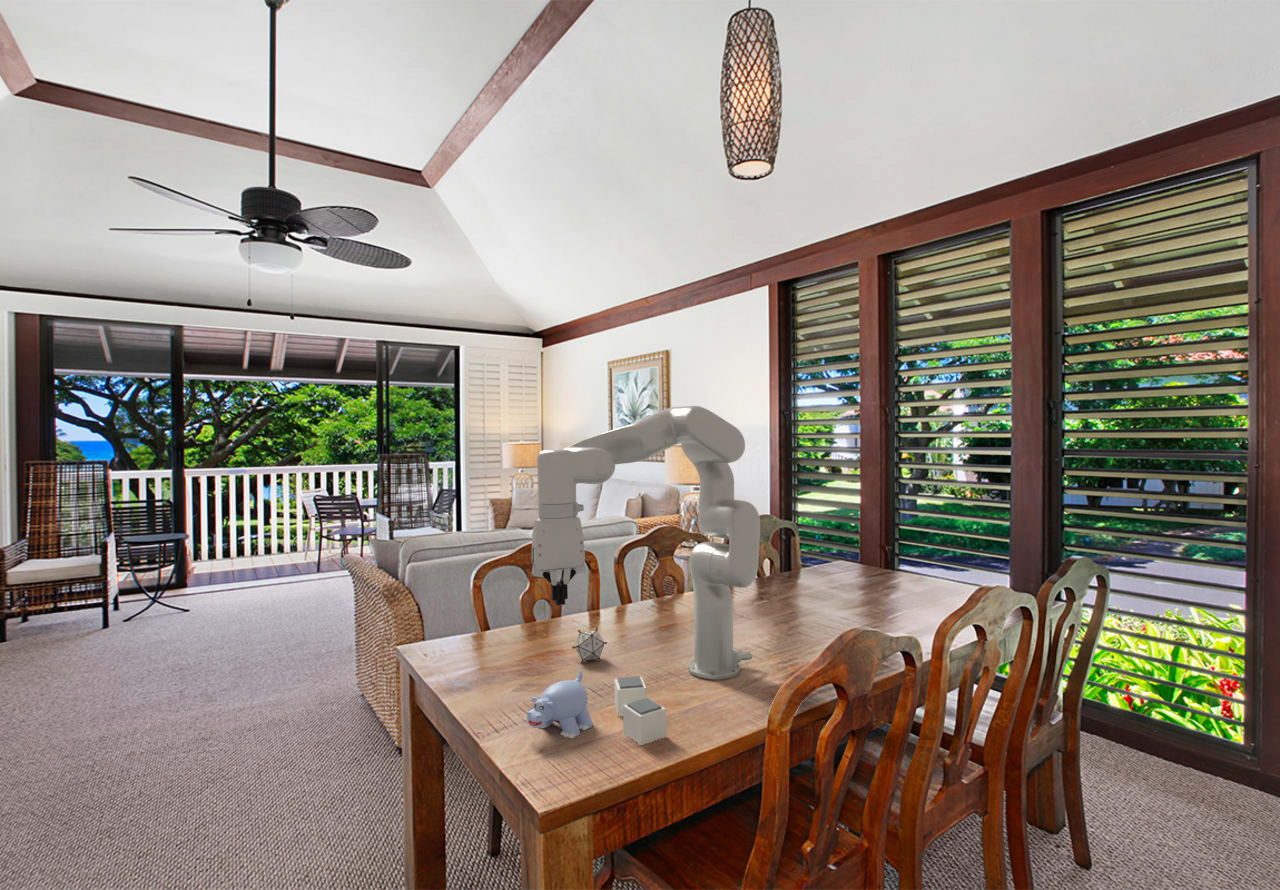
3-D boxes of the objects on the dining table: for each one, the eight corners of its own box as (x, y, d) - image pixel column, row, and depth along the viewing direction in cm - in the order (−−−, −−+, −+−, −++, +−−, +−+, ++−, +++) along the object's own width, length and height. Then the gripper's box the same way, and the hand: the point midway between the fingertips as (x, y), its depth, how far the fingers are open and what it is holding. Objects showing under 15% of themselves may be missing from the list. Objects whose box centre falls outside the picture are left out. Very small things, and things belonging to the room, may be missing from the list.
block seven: (648, 725, 125) (648, 695, 125) (666, 737, 120) (665, 706, 120) (623, 733, 122) (622, 703, 122) (640, 746, 117) (640, 714, 117)
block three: (642, 702, 136) (641, 675, 136) (646, 714, 130) (646, 685, 130) (614, 704, 135) (614, 677, 135) (618, 716, 129) (617, 688, 129)
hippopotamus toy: (511, 736, 122) (511, 688, 121) (563, 708, 134) (562, 664, 134) (552, 752, 115) (551, 701, 115) (602, 720, 128) (602, 674, 127)
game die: (594, 676, 160) (600, 653, 154) (565, 663, 162) (569, 639, 156) (608, 650, 167) (614, 627, 162) (579, 637, 169) (584, 614, 163)
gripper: (589, 507, 130) (591, 595, 130) (516, 511, 125) (519, 602, 125) (598, 511, 123) (600, 604, 123) (522, 516, 118) (524, 612, 118)
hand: (559, 603), depth 124 cm, fingers closed
